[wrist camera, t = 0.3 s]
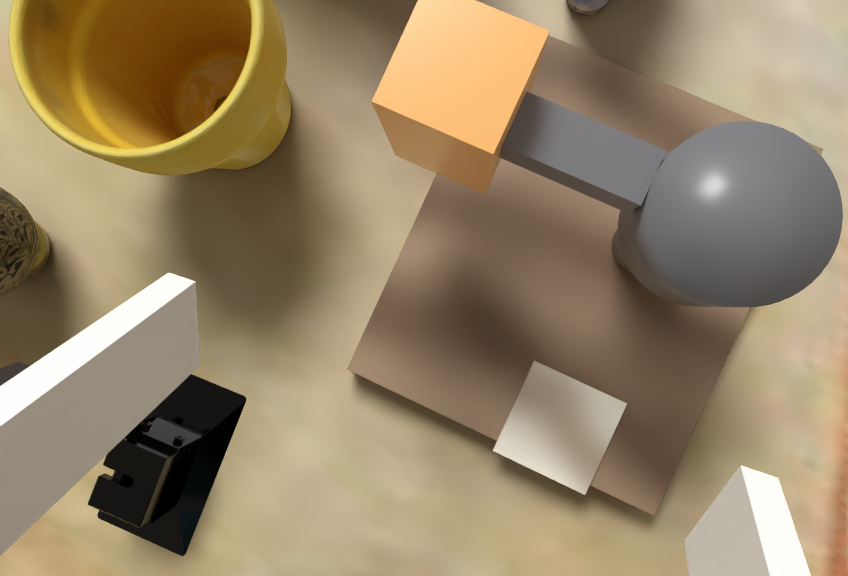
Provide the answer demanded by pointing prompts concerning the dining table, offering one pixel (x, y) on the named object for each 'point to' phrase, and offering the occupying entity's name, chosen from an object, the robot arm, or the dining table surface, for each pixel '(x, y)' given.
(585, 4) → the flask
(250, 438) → the dining table surface
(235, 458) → the dining table surface
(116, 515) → the black rounded lump
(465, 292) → the post base
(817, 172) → the grey joystick lever
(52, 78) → the plant pot
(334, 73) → the dining table surface
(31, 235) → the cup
